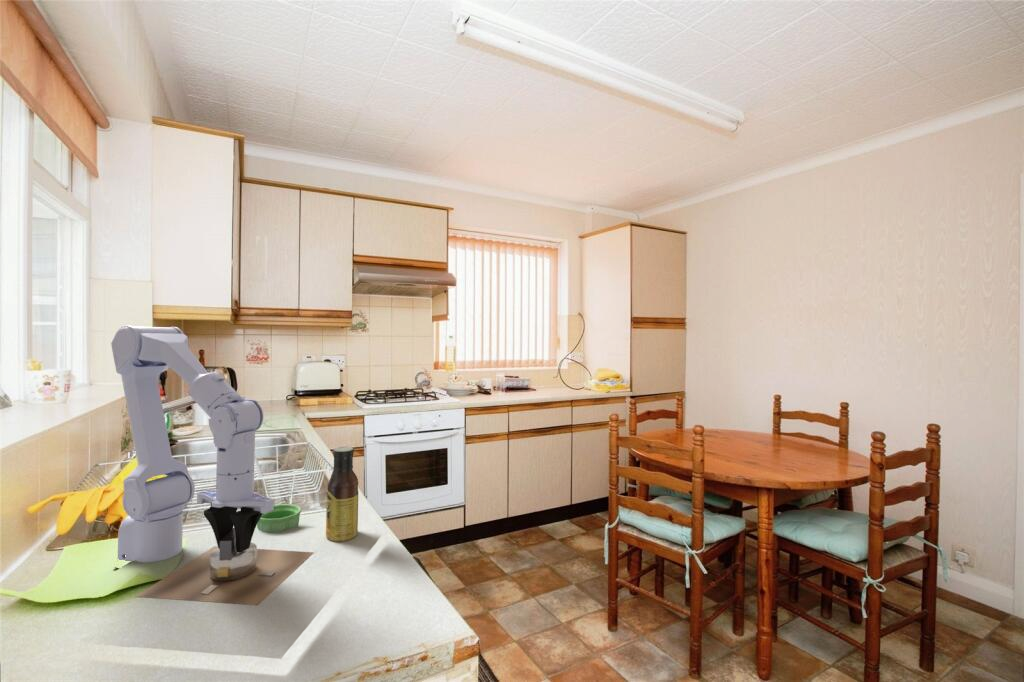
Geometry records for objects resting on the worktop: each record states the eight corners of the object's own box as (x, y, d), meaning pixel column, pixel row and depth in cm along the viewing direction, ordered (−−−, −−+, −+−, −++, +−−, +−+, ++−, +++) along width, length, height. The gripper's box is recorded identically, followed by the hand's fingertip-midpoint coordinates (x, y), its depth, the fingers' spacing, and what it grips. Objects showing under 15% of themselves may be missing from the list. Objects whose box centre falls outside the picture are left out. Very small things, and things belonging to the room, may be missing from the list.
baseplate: (135, 605, 75) (135, 595, 75) (214, 553, 93) (214, 545, 93) (257, 614, 74) (257, 603, 74) (313, 560, 92) (313, 551, 92)
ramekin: (304, 534, 104) (304, 514, 103) (257, 543, 99) (257, 522, 98) (296, 520, 111) (297, 501, 111) (252, 528, 106) (253, 508, 106)
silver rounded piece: (220, 561, 86) (221, 525, 86) (262, 560, 88) (263, 523, 87) (199, 585, 79) (199, 544, 78) (244, 582, 80) (245, 542, 80)
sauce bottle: (330, 536, 103) (332, 444, 102) (360, 536, 103) (362, 444, 103) (321, 550, 96) (323, 451, 96) (353, 549, 97) (355, 451, 96)
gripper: (181, 472, 81) (179, 551, 81) (251, 481, 78) (249, 565, 78) (217, 462, 88) (215, 535, 88) (283, 470, 84) (281, 546, 84)
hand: (233, 548), depth 83 cm, fingers closed on silver rounded piece, 3 cm apart
